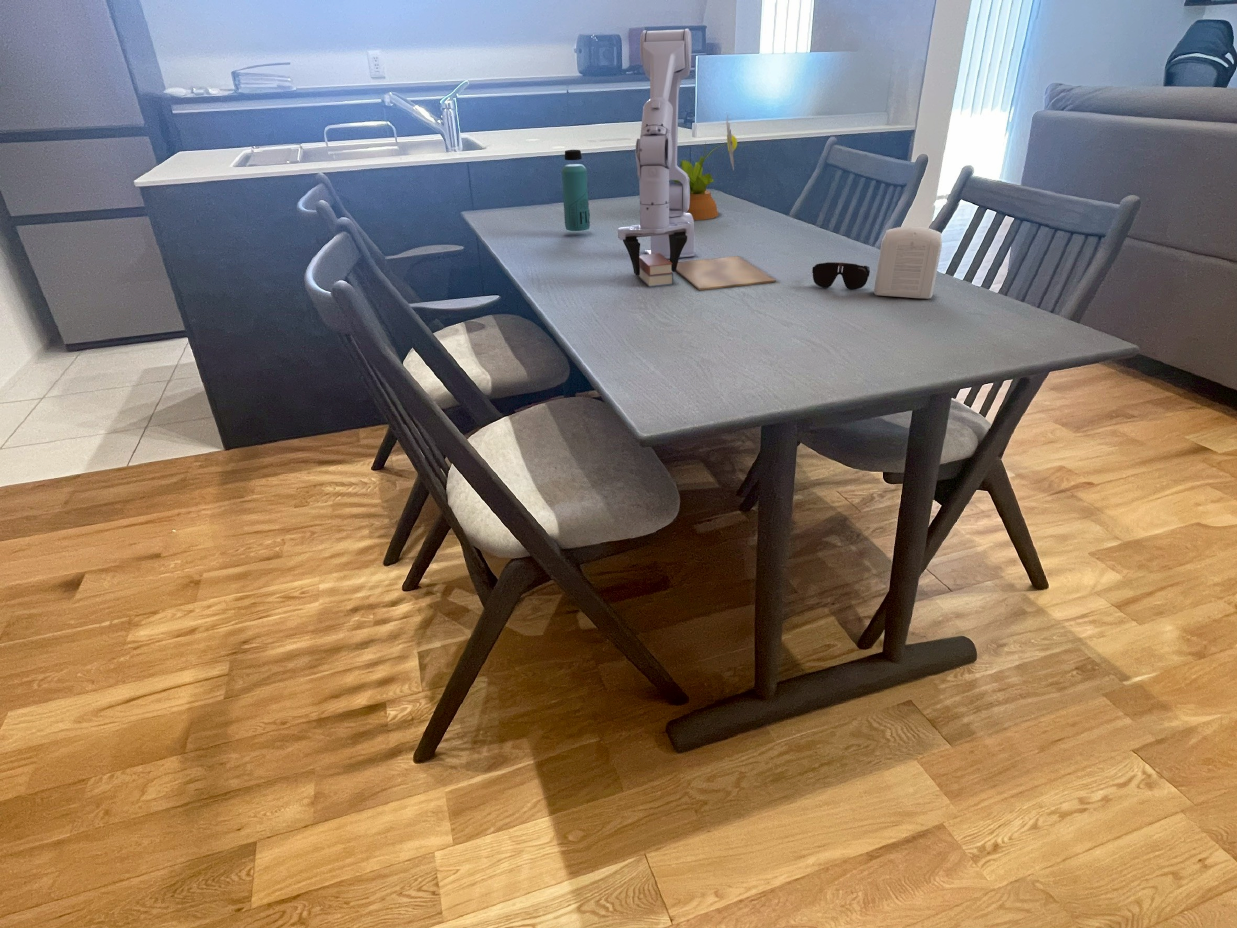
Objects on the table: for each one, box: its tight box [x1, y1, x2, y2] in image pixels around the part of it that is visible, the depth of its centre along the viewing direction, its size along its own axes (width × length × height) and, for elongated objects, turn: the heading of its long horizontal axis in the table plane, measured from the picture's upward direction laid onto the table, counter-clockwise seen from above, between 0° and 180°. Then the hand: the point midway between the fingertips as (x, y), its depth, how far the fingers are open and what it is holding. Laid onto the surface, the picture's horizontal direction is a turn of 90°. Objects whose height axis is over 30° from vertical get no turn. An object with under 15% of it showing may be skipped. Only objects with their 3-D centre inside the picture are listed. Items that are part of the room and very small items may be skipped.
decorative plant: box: [672, 114, 738, 221], centre depth 199 cm, size 27×24×25 cm
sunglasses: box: [811, 261, 871, 291], centre depth 145 cm, size 10×12×5 cm
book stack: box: [637, 253, 674, 288], centre depth 150 cm, size 5×9×4 cm, turn 14°
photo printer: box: [873, 225, 943, 300], centre depth 133 cm, size 10×4×12 cm, turn 72°
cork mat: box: [676, 255, 777, 291], centre depth 153 cm, size 16×20×1 cm
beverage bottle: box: [560, 149, 591, 232], centre depth 183 cm, size 6×7×20 cm
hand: (654, 272), depth 150 cm, fingers open, 7 cm apart
